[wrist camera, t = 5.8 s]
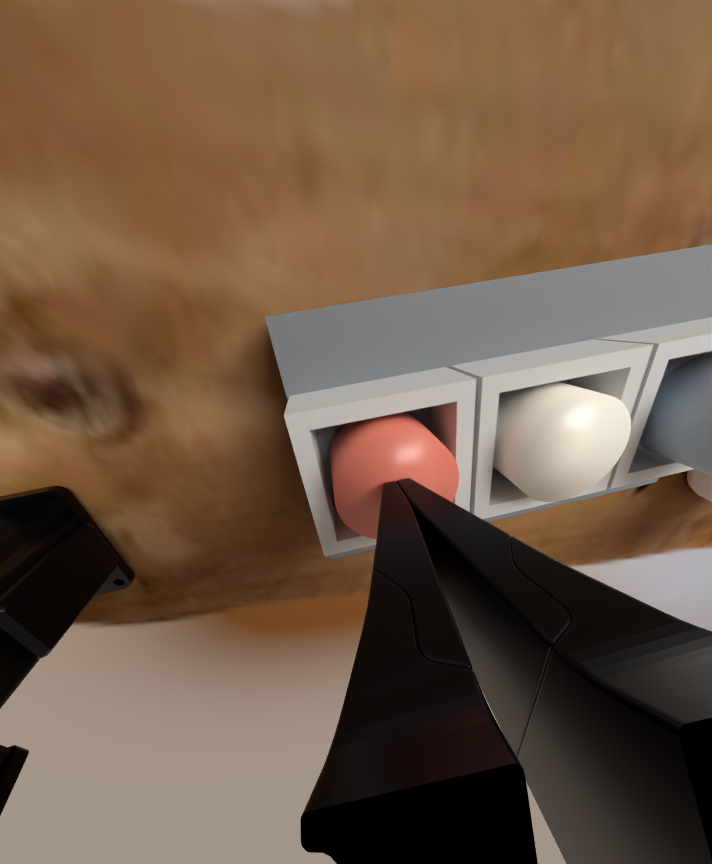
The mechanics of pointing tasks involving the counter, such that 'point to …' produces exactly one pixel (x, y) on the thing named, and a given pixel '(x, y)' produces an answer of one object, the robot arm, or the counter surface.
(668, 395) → the button blue
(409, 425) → the button red
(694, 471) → the milk bottle
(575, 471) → the button ivory
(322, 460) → the console
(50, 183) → the counter surface
